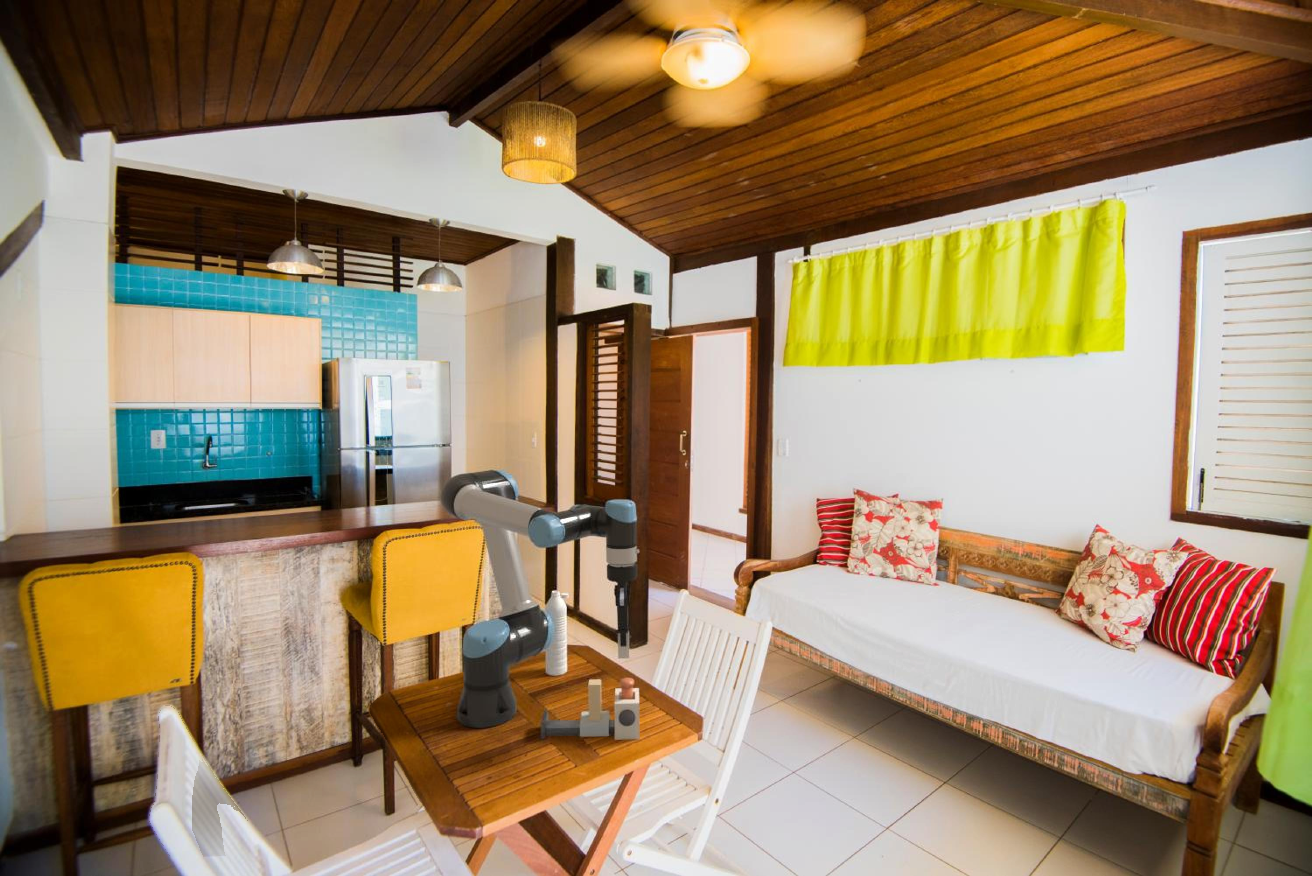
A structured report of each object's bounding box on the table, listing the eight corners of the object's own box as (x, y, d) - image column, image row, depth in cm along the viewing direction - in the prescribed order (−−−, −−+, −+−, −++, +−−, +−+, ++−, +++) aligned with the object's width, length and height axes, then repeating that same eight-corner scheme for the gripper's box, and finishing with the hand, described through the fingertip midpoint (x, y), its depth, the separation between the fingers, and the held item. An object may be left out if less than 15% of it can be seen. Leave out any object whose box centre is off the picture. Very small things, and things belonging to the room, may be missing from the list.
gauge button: (619, 709, 152) (619, 684, 152) (620, 702, 156) (619, 677, 155) (634, 709, 152) (634, 684, 152) (634, 702, 156) (634, 677, 156)
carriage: (579, 736, 151) (579, 688, 150) (582, 722, 157) (581, 676, 157) (608, 736, 151) (608, 688, 150) (609, 721, 158) (609, 675, 157)
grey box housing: (614, 740, 150) (614, 704, 149) (615, 722, 158) (615, 688, 158) (639, 740, 150) (639, 704, 150) (638, 722, 159) (638, 688, 158)
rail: (541, 739, 151) (540, 723, 150) (544, 726, 157) (544, 710, 156) (618, 737, 151) (618, 721, 151) (619, 724, 157) (619, 709, 157)
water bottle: (541, 671, 188) (540, 591, 187) (558, 665, 193) (557, 586, 191) (559, 680, 182) (558, 597, 181) (576, 673, 187) (575, 592, 186)
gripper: (636, 569, 145) (638, 667, 146) (637, 556, 158) (639, 646, 159) (605, 570, 145) (607, 668, 146) (608, 557, 158) (610, 647, 159)
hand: (623, 657), depth 153 cm, fingers closed
